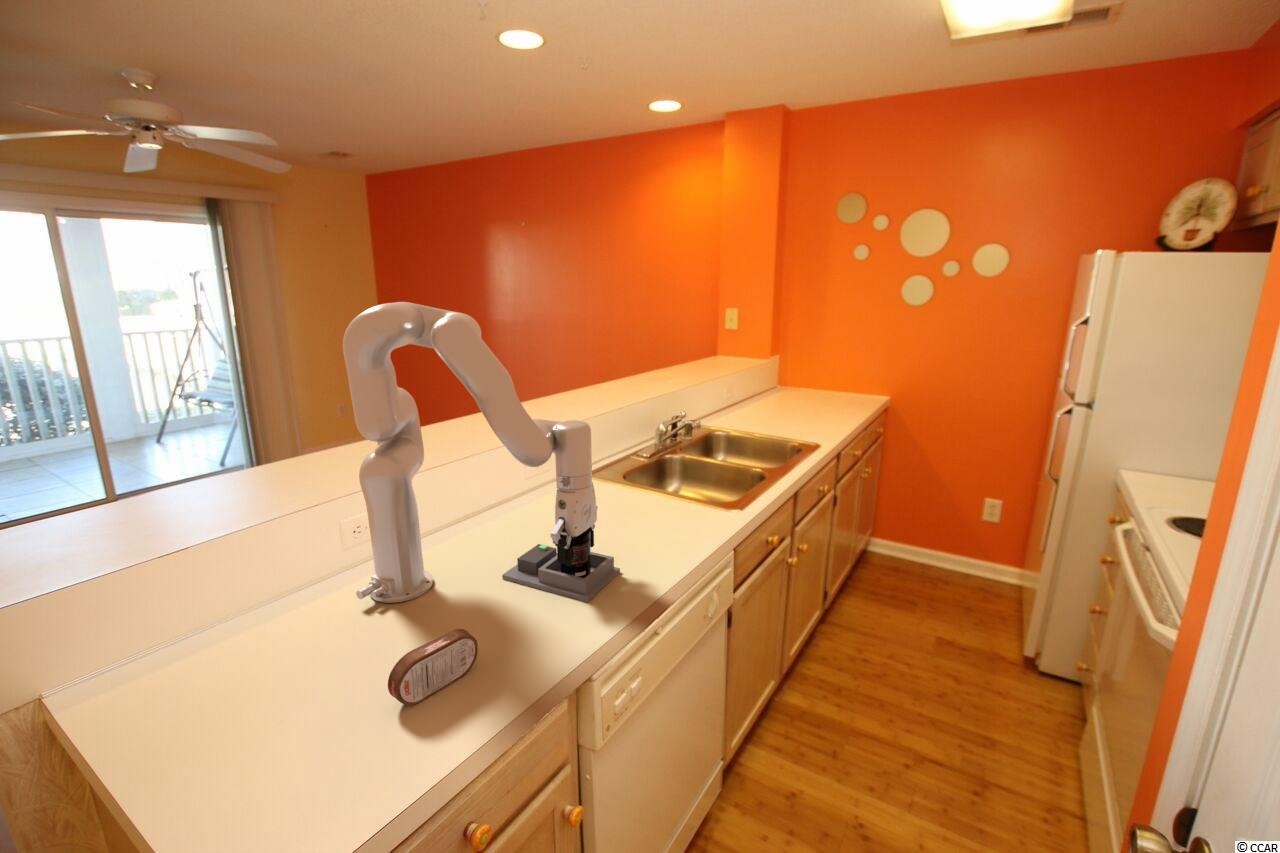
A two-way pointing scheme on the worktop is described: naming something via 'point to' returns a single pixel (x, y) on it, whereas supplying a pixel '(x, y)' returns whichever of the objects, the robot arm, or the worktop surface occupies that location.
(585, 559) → the supplement container
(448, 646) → the tin
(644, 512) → the worktop surface
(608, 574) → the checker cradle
